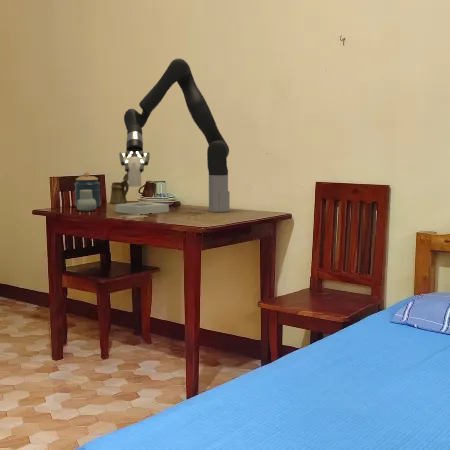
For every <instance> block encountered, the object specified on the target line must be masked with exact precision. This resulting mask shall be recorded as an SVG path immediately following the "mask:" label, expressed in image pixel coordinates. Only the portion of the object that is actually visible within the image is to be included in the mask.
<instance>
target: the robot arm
mask: <svg viewBox="0 0 450 450" xmlns="http://www.w3.org/2000/svg"><path fill="white" fill-rule="evenodd" d="M175 83H177V84H178V86H179V88H180V90H181V91H182V94H183V97H184V100H185V104H186V107H187V110H188V112H189V114H190V116H191V118H192V120H193V122H194V123H195V125H196V127H198V129H199V130H200V131H201V132H202V134H203V135H204V138H205V140H206V142H207V144H208V146H207V152H206V153H207V154H206V155H207V156H206V157H207V159H206V160H207V161H206V162H207V163H206V164H207V170H208V212H211V213H212V212H213V213H214V212H215V213H225V212H230V210H231V209H230V201H231V200H230V198H231V197H230V191H229V168H228V163H227V162H228V161H227V159H228V156H229V154H230V147H229V145H228V144H227V142H226V141H225V138H224V137H223V136H222V134H221V132H220V131H219V128H218V126H217V123H216V121H215V118H214V115H213V114H212V112H211V109H210V107H209V105H208V103H207V101H206V98H205V97H204V95H203V94H202V92H201V91H200V89H199V87H198V86H197V84H196V81H195V79H194V76H193V73H192V70H191V67H190V65H189V64H188V62H187V61H186V60H184V59H183V58H175V59H173V60H171V62H170V63H169V65H168V66H167V68H166V69H165V71H164V73H163V74H162V76H161V77H160V78H159V80H158V81H157V82H156V83H155V84H154V86H153V87H152V88H151V89H150V90H149V91H148V92H147V94H146V95H145V96H144V97H143V98H142V99H141V100H140V102H139V104H138V106H139V107H140V109H141V110H142V111H141V113H140V112H138V111H137V110H136V109H135V108H129V109H127V110H126V111H125V112H124V115H123V121H124V126H125V129H126V132H127V133H126V140H125V141H126V142H125V143H126V144H125V145H126V150H125V153H122V152H119V154H118V155H119V161H120V165H121V167H123V166H124V171H125V172H126V173H128V157H141V173H143V172H144V170H145V166H146V167H147V166H148V165H149V163H150V157H151V156H150V152H148V151H147V152H146V153H145V152H144V138H143V129H142V128H144V127H145V125H146V124H147V122H148V119H149V117H150V116H151V114H152V112H153V111H154V110H155V109H156V108H157V107H158V105H159V104H160V103H161V102H162V100H163V99H164V97H165V96H166V94H167V92H168V91H169V90H170V88H172V86H173V85H174V84H175ZM125 157H126V160H124V158H125ZM143 158H145V160H143Z"/></svg>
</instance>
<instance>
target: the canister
mask: <svg viewBox="0 0 450 450" xmlns="http://www.w3.org/2000/svg"><path fill="white" fill-rule="evenodd" d="M98 180H99V178H98V177H96V176H93V175H90V172H88V171H86V172H84V174H83V176H81V175H80V176H78V177H76V178H75V181H76V182H75V183H73V185H74V187H75V189H74V205H75V208H77V200H79V199H80V190H92V198H93V199H94V200H95V201H96V208H99V207H101V204H102V202H101V189H100V186H101V183H100V181H98Z"/></svg>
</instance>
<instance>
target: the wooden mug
mask: <svg viewBox="0 0 450 450" xmlns="http://www.w3.org/2000/svg"><path fill="white" fill-rule="evenodd" d="M122 179H123V181H121V182H119V181H117V182H112V183H111V187H110V188H111V192H110V200H109V204H110V205H115V204H125V203H128V200H127V197H126V196H127V194H128V192H129V188H130V186H129V182H128V173H127V172H126V173H125V174H124V176H123V178H122Z"/></svg>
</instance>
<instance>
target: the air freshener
mask: <svg viewBox="0 0 450 450" xmlns="http://www.w3.org/2000/svg"><path fill="white" fill-rule="evenodd" d="M76 209H77V210H78V211H79V212H93V211H95V210H96V209H97V207H96V201H95V200H94V199H93V198H92V190H80V199H79V200H77V207H76Z"/></svg>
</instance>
